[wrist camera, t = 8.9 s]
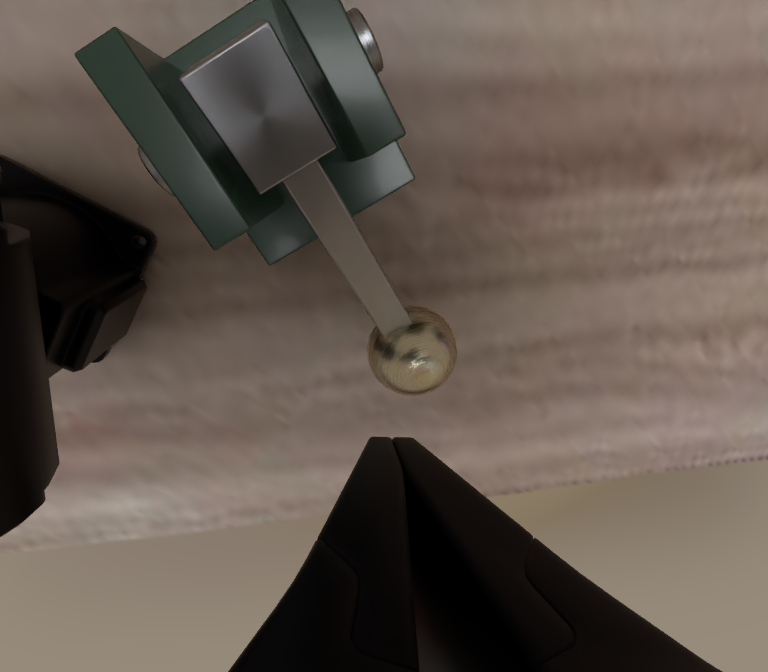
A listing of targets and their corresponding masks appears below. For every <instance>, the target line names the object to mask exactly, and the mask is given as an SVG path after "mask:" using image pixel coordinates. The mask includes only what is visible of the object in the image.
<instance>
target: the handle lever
mask: <svg viewBox="0 0 768 672" xmlns="http://www.w3.org/2000/svg"><path fill="white" fill-rule="evenodd" d="M179 81H180V83H181V84H182V85H183V87H184V88H185V90H186V91H187V93H188V94H189V95H190V97H191V98H192V100H193V101H194V103H195V104H196V105H197V107H198V108H199V110H200V111H201V113H202V114H203V115H204V117H205V118H206V120H207V121H208V122H209V124H210V125H211V127H212V128H213V130H214V131H215V132H216V134H217V135H218V137H219V138H220V140H221V141H222V142H223V144H224V145H225V147H226V148H227V150H228V151H229V152H230V154H231V155H232V157H233V158H234V159H235V161H236V162H237V164H238V165H239V167H240V168H241V169H242V171H243V172H244V174H245V175H246V177H247V178H248V179H249V181H250V182H251V184H252V185H253V187H254V188H255V189H256V191H257V192H258V193H259V194H262V193H264V192H266V191H267V190H269V189H271V188H272V187H274V186H275V185H277V184H279V183H280V182H282V183H283V185H284V186H285V188H286V189H287V191H288V192H289V194H290V195H291V197H292V199H293V200H294V202H295V203H296V205H297V206H298V208H299V209H300V211H301V212H302V214H303V215H304V217H305V218H306V220H307V221H308V223H309V224H310V226H311V227H312V229H313V231H314V232H315V234H316V235H317V237H318V238H319V240H320V241H321V243H322V244H323V246H324V247H325V249H326V250H327V252H328V253H329V255H330V256H331V258H332V259H333V261H334V263H335V264H336V266H337V267H338V269H339V270H340V272H341V273H342V275H343V276H344V278H345V279H346V281H347V282H348V284H349V285H350V287H351V288H352V290H353V292H354V293H355V295H356V296H357V298H358V299H359V301H360V302H361V304H362V305H363V307H364V308H365V310H366V311H367V313H368V314H369V316H370V317H371V319H372V320H373V322H374V324H375V326H374V328H373V330H372V332H371V334H370V337H369V340H368V346H367V355H368V361H369V365H370V367H371V370H372V372H373V373H374V375H375V377H376V378H377V379H378V380H379V382H380V383H382V384H383V385H384V386H385V387H386V388H388V389H390V390H391V391H393V392H396V393H399V394H402V395H408V396H416V395H423V394H426V393H429V392H431V391H433V390H435V389H437V388H438V387H439V386H441V385H442V384H443V383H444V382H445V381H446V380H447V379H448V377H449V376H450V374H451V373H452V371H453V368H454V366H455V363H456V358H457V343H456V339H455V336H454V333H453V331H452V329H451V328H450V326H449V324H448V323H447V322H446V321H445V320H444V319H443V318H442V317H441V316H440V315H438V314H437V313H435V312H434V311H432V310H430V309H427V308H424V307H419V306H405V307H404V305H403V304H402V302H401V300H400V298H399V297H398V295H397V293H396V291H395V290H394V288H393V286H392V285H391V283H390V281H389V279H388V278H387V276H386V274H385V273H384V271H383V269H382V267H381V266H380V264H379V262H378V260H377V259H376V257H375V255H374V254H373V252H372V250H371V248H370V247H369V245H368V243H367V242H366V240H365V238H364V236H363V235H362V233H361V231H360V229H359V228H358V226H357V224H356V223H355V221H354V219H353V217H352V216H351V214H350V212H349V211H348V209H347V207H346V205H345V204H344V202H343V200H342V198H341V197H340V195H339V193H338V192H337V190H336V188H335V186H334V185H333V183H332V181H331V179H330V178H329V176H328V174H327V173H326V171H325V169H324V167H323V166H322V164H321V162H320V161H319V158H321V157H323V156H324V155H326V154H327V153H329V152H331V151H332V150H334V149H336V147H337V145H336V143H335V141H334V139H333V137H332V135H331V133H330V132H329V130H328V128H327V126H326V124H325V122H324V121H323V119H322V117H321V115H320V113H319V111H318V110H317V108H316V106H315V104H314V102H313V100H312V98H311V97H310V95H309V93H308V91H307V89H306V87H305V86H304V84H303V82H302V80H301V78H300V76H299V75H298V73H297V71H296V69H295V67H294V65H293V63H292V62H291V60H290V58H289V56H288V54H287V52H286V51H285V49H284V47H283V45H282V43H281V41H280V40H279V38H278V36H277V34H276V32H275V30H274V28H273V27H272V25H271V23H270V22H269V21H266V20H262V21H260V22H258V23H257V24H255V25H254V26H252V27H251V28H249V29H248V30H246V31H245V32H243V33H242V34H240V35H238V36H237V37H235V38H234V39H232V40H231V41H229V42H228V43H226V44H225V45H223V46H222V47H220V48H218V49H217V50H215V51H214V52H212V53H211V54H209V55H208V56H206V57H205V58H203V59H202V60H200V61H198V62H197V63H195V64H194V65H192V66H191V67H190V68H189V69H187V70H186V71H185V72H184V73H183V74H182V75H181V76H180V78H179Z"/></svg>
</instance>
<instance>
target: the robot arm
mask: <svg viewBox="0 0 768 672" xmlns="http://www.w3.org/2000/svg"><path fill="white" fill-rule="evenodd" d="M0 166H1V168H2V173H0V537H1V536H3V535H4V534H6V533H7V532H9V531H11V530H12V529H14V528H15V527H17V526H18V525H19V524H21V523H22V522H23V521H24V520H25V519H27V518H28V517H29V516H30V515H31V514H32V513H33V512H34V511H35V510H36V509H38V508H39V507H40V506H41V505H42V504H43V503H44V501H45V492H44V490H45V489H46V487H47V486H48V485H49V483H50V481H51V479H52V477H53V475H54V473H55V471H56V469H57V467H58V465H59V456H58V449H57V441H56V433H55V425H54V417H53V410H52V402H51V394H50V386H49V378H50V377H51V376H53V375H54V374H55V373H57V372H58V371H59V370H61V369H62V368H64V369H66V370H69V371H71V372H76V371H79V370H82V369H84V368H85V367H86V366H87V365H89V364H90V363H91V362H92V363H96V362H99V361H101V360H103V359H104V358H105V357H106V356H107V355H108V353H109V351H110V349H111V346H112V345H113V344H115V343H116V342H117V341H118V340H119V339H121V338H122V337H123V336H124V335H126V333H127V331H128V329H129V326H130V324H131V322H132V320H133V317H134V315H135V313H136V311H137V308H138V306H139V304H140V302H141V299H142V297H143V295H144V293H145V290H146V288H147V286H146V283H145V281H144V280H142V279H141V278H142V276H143V273H144V271H145V269H146V267H147V264H148V262H149V260H150V257H151V255H152V253H153V251H154V248H155V246H156V238H155V236H154V234H153V233H152V232H151V231H150V230H148V229H147V228H145V227H143V226H141V225H139V224H137V223H135V222H133V221H131V220H129V219H127V218H125V217H123V216H121V215H119V214H117V213H115V212H113V211H111V210H109V209H107V208H105V207H103V206H101V205H99V204H97V203H96V202H94V201H92V200H90V199H88V198H86V197H84V196H82V195H80V194H78V193H76V192H74V191H72V190H70V189H68V188H66V187H64V186H62V185H60V184H58V183H56V182H54V181H52V180H50V179H48V178H47V177H45V176H43V175H41V174H39V173H37V172H35V171H33V170H31V169H29V168H27V167H25V166H23V165H21V164H19V163H17V162H15V161H13V160H11V159H9V158H7V157H5V156H2V155H0ZM139 235H141V236H143V237H144V238H145V239H146V241H147V243H146V245H145V246H141V245H140V244H139V243H138V241H137V237H138V236H139ZM228 672H722V671H720V670H719V669H717V668H715V667H714V666H712V665H710V664H709V663H707V662H706V661H704V660H703V659H701V658H700V657H698V656H697V655H695V654H694V653H693V652H691V651H690V650H688V649H687V648H685V647H684V646H683V645H681V644H680V643H678V642H677V641H675V640H674V639H673V638H671V637H670V636H668V635H667V634H665V633H664V632H662V631H661V630H660V629H658V628H657V627H655V626H654V625H652V624H651V623H650V622H648V621H646V620H645V619H644V618H642V617H641V616H639V615H638V614H637V613H635V612H634V611H632V610H631V609H629V608H628V607H627V606H625V605H624V604H622V603H621V602H619V601H618V600H616V599H615V598H613V597H612V596H611V595H609V594H608V593H607V592H605V591H604V590H603V589H601V588H600V587H598V586H597V585H596V584H594V583H593V582H592V581H590V580H589V579H587V578H586V577H585V576H583V575H582V574H580V573H579V572H578V571H577V570H575V569H574V568H573V567H571V566H570V565H569V564H568V563H566V562H565V561H564V560H562V559H561V558H560V557H559V556H557V555H556V554H555V553H553V552H552V551H551V550H550V549H549V548H547V547H546V546H545V545H544V544H542V543H541V542H540V541H539V540H538V539H536V538H534V539H533V536H532V535H531V534H530V533H529V532H528V531H526V530H525V529H524V528H523V527H521V526H520V525H519V524H518V523H517V522H515V521H514V520H513V519H512V518H510V517H509V516H508V515H507V514H506V513H504V512H503V511H501V509H499V508H498V507H497V506H496V505H495V504H493V503H492V502H491V501H490V500H488V499H487V498H486V497H485V496H484V495H482V494H481V493H480V492H479V491H477V490H476V489H475V488H474V487H473V486H471V485H470V484H469V483H468V482H466V481H465V480H464V479H463V478H461V477H460V476H459V475H458V474H457V473H455V472H454V471H453V470H452V469H450V468H449V467H448V466H447V465H446V464H444V463H443V462H442V461H441V460H439V459H438V458H437V457H436V456H435V455H433V454H432V453H431V452H430V451H428V450H427V449H426V448H425V447H424V446H422V445H421V444H420V443H419V442H417V441H416V440H415V439H413V438H406V437H395V438H393V439H391V438H389V437H371V438H370V439H369V440H368V442H367V444H366V446H365V448H364V450H363V452H362V454H361V456H360V458H359V459H358V461H357V463H356V465H355V467H354V469H353V471H352V473H351V475H350V477H349V479H348V481H347V483H346V484H345V486H344V488H343V490H342V492H341V494H340V496H339V498H338V500H337V502H336V504H335V506H334V507H333V509H332V511H331V513H330V515H329V517H328V519H327V521H326V523H325V525H324V527H323V529H322V531H321V533H320V534H319V536H318V539H317V541H316V542H315V543H314V546H313V547H312V549H311V551H310V553H309V555H308V557H307V559H306V560H305V562H304V564H303V566H302V567H301V569H300V571H299V572H298V574H297V576H296V578H295V579H294V581H293V582H292V584H291V585H290V587H289V588H288V590H287V591H286V593H285V594H284V596H283V597H282V599H281V600H280V602H279V603H278V605H277V606H276V607H275V609H274V610H273V611H272V613H271V614H270V615H269V617H268V618H267V620H266V621H265V622H264V624H263V625H262V626H261V628H260V629H259V630H258V632H257V633H256V635H255V636H254V637H253V639H252V640H251V641H250V643H249V644H248V645H247V647H246V648H245V650H244V651H243V652H242V654H241V655H240V656H239V658H238V659H237V660H236V662H235V663H234V665H233V666H232V667H231V669H230V670H229V671H228Z"/></svg>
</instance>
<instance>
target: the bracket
mask: <svg viewBox="0 0 768 672" xmlns="http://www.w3.org/2000/svg"><path fill="white" fill-rule="evenodd" d="M262 20H266V21H269V22H270V23H271V25H272V27H273V28H274V30H275V32H276V34H277V36H278V38H279V40H280V41H281V43H282V45H283V47H284V49H285V51H286V52H287V54H288V56H289V58H290V60H291V62H292V63H293V65H294V67H295V69H296V71H297V73H298V75H299V76H300V78H301V80H302V82H303V84H304V86H305V87H306V89H307V91H308V93H309V95H310V97H311V98H312V100H313V102H314V104H315V106H316V108H317V110H318V111H319V113H320V115H321V117H322V119H323V121H324V122H325V124H326V126H327V128H328V130H329V132H330V133H331V135H332V137H333V139H334V141H335V143H336V145H337V147H336V149H334V150H332V151H331V152H329V153H327V154H326V155H324V156H323V157H321V158H319V161H320V162H321V164H322V166H323V167H324V169H325V171H326V173H327V174H328V176H329V178H330V179H331V181H332V183H333V185H334V186H335V188H336V190H337V192H338V193H339V195H340V197H341V198H342V200H343V202H344V204H345V205H346V207H347V209H348V211H349V212H350V214H351V216H352V217H353V216H354V215H356V214H358V213H359V212H361V211H363V210H364V209H366V208H368V207H369V206H371V205H373V204H374V203H376V202H378V201H379V200H381V199H383V198H384V197H386V196H388V195H389V194H391V193H393V192H394V191H396V190H398V189H399V188H401V187H403V186H404V185H406V184H408V183H409V182H411V181H413V180H414V179H415V176H414V174H413V172H412V170H411V168H410V166H409V164H408V162H407V160H406V158H405V156H404V154H403V152H402V150H401V149H400V147H399V145H398V143H397V141H396V140H398V139H400V138H401V137H403V136H404V135H405V134H406V132H405V130H404V128H403V126H402V123H401V121H400V119H399V117H398V115H397V113H396V111H395V109H394V107H393V105H392V103H391V101H390V99H389V97H388V95H387V93H386V91H385V89H384V87H383V85H382V83H381V81H380V79H379V77H378V75H377V73H379V72H380V71H382V69H383V60H382V56H381V53H380V50H379V47H378V45H377V42H376V40H375V37H374V35H373V33H372V31H371V29H370V27H369V25H368V23H367V21H366V20H365V18H364V17H363V15H362V14H361V12H360V11H359V10H358V9H357V8H352V9H350V10H349V11H347V12H346V11H345V9H344V7H343V4H342V2H341V0H253V1H252V2H250V3H249V4H247V5H246V6H244V7H243V8H241V9H240V10H238V11H236V12H235V13H233V14H232V15H230V16H229V17H227V18H226V19H224V20H223V21H221V22H220V23H218V24H217V25H215V26H214V27H212V28H211V29H209V30H207V31H206V32H204V33H203V34H201V35H200V36H198V37H197V38H195V39H194V40H192V41H191V42H189V43H188V44H186V45H185V46H183V47H182V48H180V49H178V50H177V51H175V52H174V53H172V54H171V55H169V56H168V57H166V58H165V59H163V58H162V57H160V56H159V55H157V54H156V53H154V52H153V51H151V50H150V49H148V48H147V47H145V46H144V45H142V44H141V43H139V42H138V41H136V40H135V39H133V38H132V37H130V36H129V35H127V34H126V33H124V32H123V31H121V30H120V29H118V28H117V27H113V28H112V29H110V30H109V31H107V32H106V33H104V34H103V35H101V36H100V37H98V38H97V39H95V40H94V41H92V42H91V43H89V44H88V45H86V46H85V47H83V48H82V49H80V50H79V51H77V52H76V53H75V57H76V58H77V60H78V61H79V63H80V64H81V65H82V67H83V68H84V70H85V71H86V72H87V74H88V75H89V77H90V78H91V79H92V81H93V82H94V84H95V85H96V86H97V88H98V89H99V91H100V92H101V93H102V95H103V96H104V98H105V99H106V100H107V102H108V103H109V105H110V106H111V107H112V109H113V110H114V112H115V113H116V114H117V116H118V117H119V119H120V120H121V121H122V123H123V124H124V126H125V127H126V128H127V130H128V131H129V133H130V134H131V135H132V137H133V138H134V140H135V141H136V142H137V144H138V145H139V146H138V153H139V156H140V158H141V160H142V162H143V164H144V166H145V167H146V169H147V170H148V172H149V173H150V175H151V176H152V177H153V178H154V180H155V181H156V182H157V183H158V184H159V185H160V186H161V187H162V188H163V189H164V190H165V191H166V192H168V193H169V194H170V195H172V196H174V197H176V198H177V200H178V201H179V202H180V204H181V205H182V207H183V208H184V209H185V211H186V212H187V214H188V215H189V216H190V218H191V219H192V221H193V222H194V223H195V225H196V226H197V228H198V229H199V230H200V232H201V233H202V235H203V236H204V237H205V239H206V240H207V242H208V243H209V244H210V246H211V247H212V249H213V250H218V249H219V248H221V247H223V246H224V245H226V244H227V243H229V242H231V241H232V240H234V239H236V238H237V237H239V236H241V235H242V234H244V233H245V232H246V233H247V234H248V236H249V237H250V238H251V240H252V241H253V243H254V244H255V246H256V247H257V249H258V250H259V252H260V253H261V255H262V256H263V258H264V259H265V261H266V262H267V264H268V265H269V266H271V265H273V264H274V263H276V262H278V261H279V260H281V259H283V258H284V257H286V256H288V255H289V254H291V253H293V252H294V251H296V250H298V249H299V248H301V247H303V246H304V245H306V244H308V243H309V242H311V241H313V240H314V239H316V238H318V237H317V235H316V234H315V232H314V231H313V229H312V227H311V226H310V224H309V223H308V221H307V220H306V218H305V217H304V215H303V214H302V212H301V211H300V209H299V208H298V206H297V205H296V203H295V202H294V200H293V199H292V197H291V195H290V194H289V192H288V191H287V189H286V188H285V186H284V185H283V183H282V182H280V183H279V184H277V185H275V186H274V187H272V188H271V189H269V190H267V191H266V192H264V193H262V194H259V193H258V192H257V191H256V189H255V188H254V187H253V185H252V184H251V182H250V181H249V179H248V178H247V177H246V175H245V174H244V172H243V171H242V169H241V168H240V167H239V165H238V164H237V162H236V161H235V159H234V158H233V157H232V155H231V154H230V152H229V151H228V150H227V148H226V147H225V145H224V144H223V142H222V141H221V140H220V138H219V137H218V135H217V134H216V132H215V131H214V130H213V128H212V127H211V125H210V124H209V122H208V121H207V120H206V118H205V117H204V115H203V114H202V113H201V111H200V110H199V108H198V107H197V105H196V104H195V103H194V101H193V100H192V98H191V97H190V95H189V94H188V93H187V91H186V90H185V88H184V87H183V85H182V84H181V83H180V81H179V78H180V76H181V75H182V74H183V73H184V72H185V71H186V70H187V69H189V68H190V67H191V66H192V65H194V64H195V63H197V62H198V61H200V60H202V59H203V58H205V57H206V56H208V55H209V54H211V53H212V52H214V51H215V50H217V49H218V48H220V47H222V46H223V45H225V44H226V43H228V42H229V41H231V40H232V39H234V38H235V37H237V36H238V35H240V34H242V33H243V32H245V31H246V30H248V29H249V28H251V27H252V26H254V25H255V24H257V23H258V22H260V21H262Z"/></svg>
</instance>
